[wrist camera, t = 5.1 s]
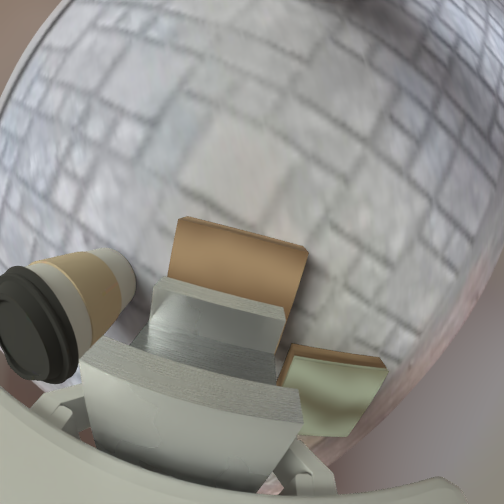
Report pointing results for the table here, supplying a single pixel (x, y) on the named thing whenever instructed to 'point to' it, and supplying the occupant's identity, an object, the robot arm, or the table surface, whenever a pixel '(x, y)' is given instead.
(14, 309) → the coffee cup
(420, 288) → the table surface
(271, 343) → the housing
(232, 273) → the stand
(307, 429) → the stand
